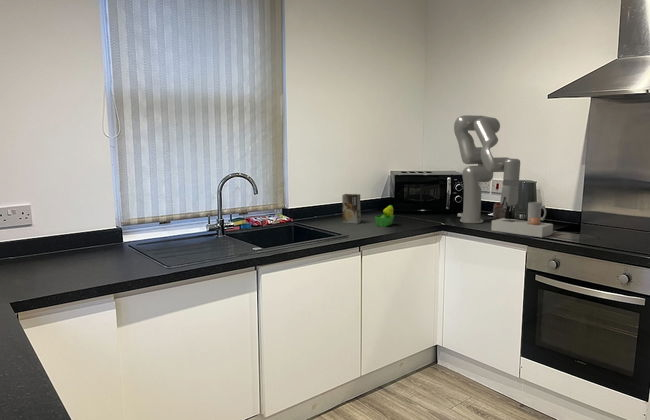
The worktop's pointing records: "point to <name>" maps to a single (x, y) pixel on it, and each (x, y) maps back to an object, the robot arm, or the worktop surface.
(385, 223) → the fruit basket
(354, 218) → the coffee box
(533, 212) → the mug
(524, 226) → the button panel
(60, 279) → the worktop surface
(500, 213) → the food item
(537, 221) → the terracotta button
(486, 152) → the robot arm
